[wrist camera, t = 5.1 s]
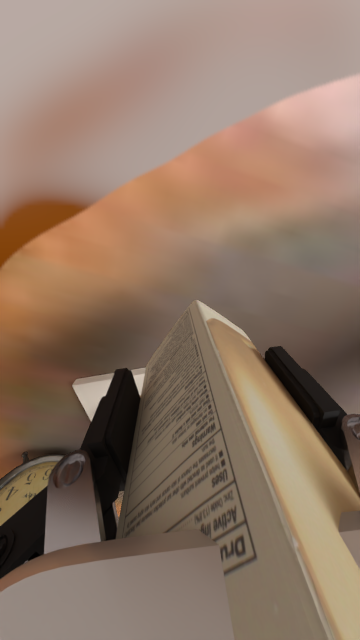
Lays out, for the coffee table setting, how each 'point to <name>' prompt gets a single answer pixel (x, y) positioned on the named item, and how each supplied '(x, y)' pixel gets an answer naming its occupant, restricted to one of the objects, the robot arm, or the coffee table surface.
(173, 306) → the coffee table surface
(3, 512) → the alarm clock
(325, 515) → the skincare box
